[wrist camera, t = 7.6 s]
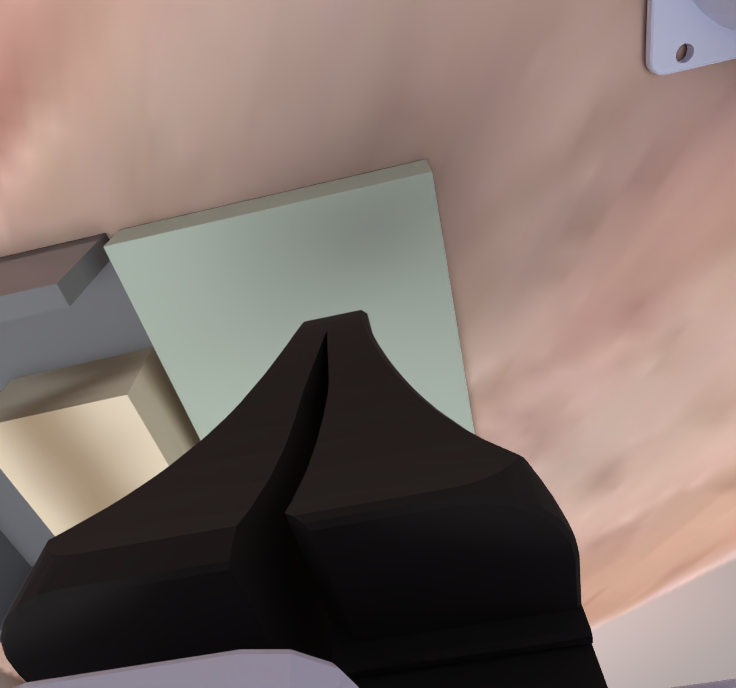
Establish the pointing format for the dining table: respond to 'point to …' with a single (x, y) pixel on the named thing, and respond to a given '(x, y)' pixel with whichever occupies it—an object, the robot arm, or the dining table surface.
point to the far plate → (297, 286)
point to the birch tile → (90, 434)
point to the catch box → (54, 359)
